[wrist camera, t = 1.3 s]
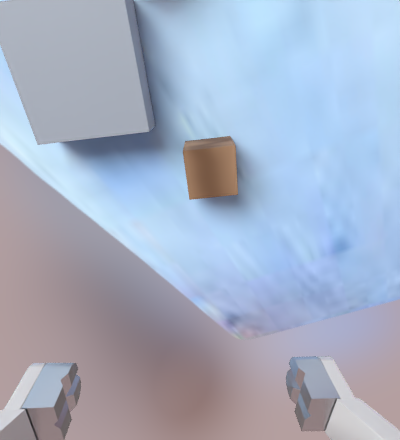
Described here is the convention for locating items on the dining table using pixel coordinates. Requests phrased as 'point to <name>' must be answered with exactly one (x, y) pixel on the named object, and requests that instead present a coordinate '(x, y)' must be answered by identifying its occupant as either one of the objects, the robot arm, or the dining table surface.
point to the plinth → (77, 67)
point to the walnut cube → (210, 167)
